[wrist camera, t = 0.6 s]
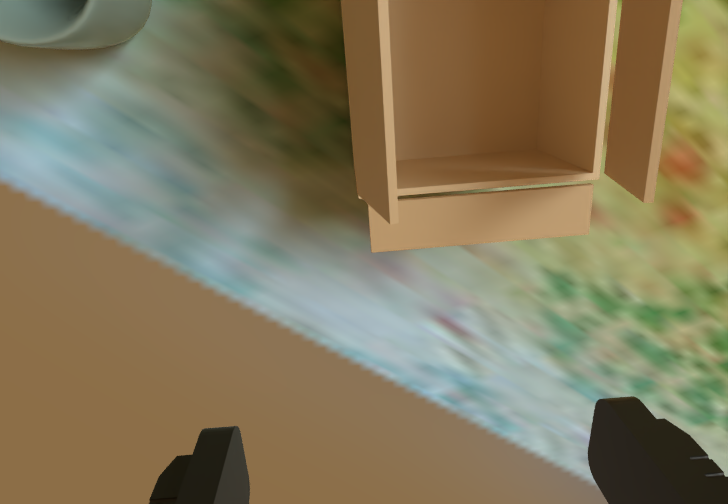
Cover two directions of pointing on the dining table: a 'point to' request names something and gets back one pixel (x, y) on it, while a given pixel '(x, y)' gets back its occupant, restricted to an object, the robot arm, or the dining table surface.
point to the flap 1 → (371, 103)
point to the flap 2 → (641, 93)
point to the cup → (71, 22)
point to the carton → (495, 118)
